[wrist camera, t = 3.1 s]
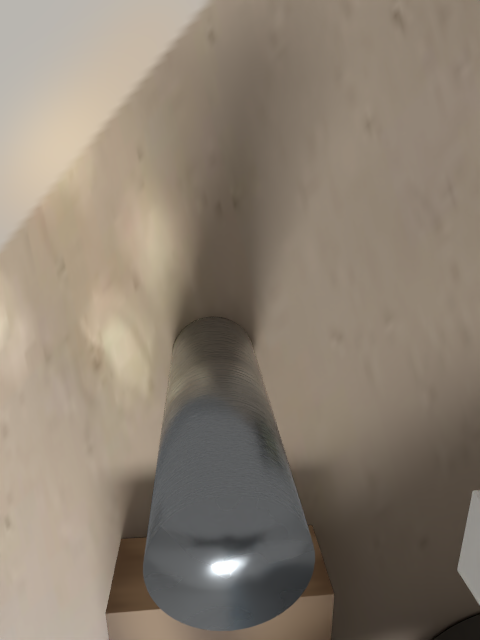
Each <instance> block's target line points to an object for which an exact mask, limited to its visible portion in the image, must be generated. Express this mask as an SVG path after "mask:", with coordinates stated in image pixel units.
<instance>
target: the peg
mask: <svg viewBox="0 0 480 640" xmlns="http://www.w3.org/2000/svg"><path fill="white" fill-rule="evenodd" d="M314 565H315V551H314V545H313V542H312V538H311V535H310V532H309V529H308V525H307V522H306V519H305V515H304V512H303V509H302V506H301V502H300V499H299V496H298V493H297V489H296V486H295V483H294V480H293V476H292V473H291V470H290V467H289V463H288V460H287V457H286V454H285V450H284V447H283V444H282V441H281V437H280V434H279V431H278V428H277V424H276V421H275V418H274V414H273V411H272V408H271V405H270V401H269V398H268V395H267V392H266V388H265V385H264V382H263V379H262V375H261V372H260V369H259V366H258V362H257V359H256V356H255V353H254V349H253V346H252V343H251V340H250V338H249V336H248V335H247V333H246V332H245V331H244V330H243V329H242V328H241V327H240V326H239V325H238V324H236V323H235V322H233V321H231V320H228V319H225V318H220V317H206V318H202V319H199V320H196V321H194V322H192V323H191V324H189V325H188V326H186V327H185V328H184V329H183V330H182V331H181V332H180V334H179V335H178V337H177V339H176V341H175V343H174V346H173V352H172V360H171V367H170V374H169V381H168V388H167V396H166V403H165V410H164V417H163V424H162V432H161V439H160V446H159V453H158V461H157V468H156V475H155V482H154V489H153V497H152V504H151V511H150V518H149V526H148V533H147V540H146V547H145V554H144V562H143V577H144V582H145V585H146V588H147V591H148V593H149V594H150V596H151V598H152V600H153V601H154V602H155V603H156V605H157V606H158V607H159V608H160V609H161V610H162V611H163V612H165V613H166V614H167V615H169V616H170V617H172V618H173V619H175V620H177V621H179V622H181V623H183V624H186V625H188V626H191V627H195V628H199V629H204V630H210V631H233V630H240V629H245V628H249V627H253V626H256V625H259V624H262V623H264V622H267V621H269V620H271V619H273V618H275V617H276V616H278V615H280V614H281V613H283V612H284V611H285V610H287V609H288V608H289V607H290V606H292V605H293V604H294V603H295V602H296V601H297V600H298V598H299V597H300V596H301V595H302V594H303V592H304V591H305V589H306V588H307V586H308V584H309V582H310V580H311V577H312V574H313V571H314Z"/></svg>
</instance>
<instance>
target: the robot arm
mask: <svg viewBox="0 0 480 640" xmlns="http://www.w3.org/2000/svg"><path fill="white" fill-rule="evenodd" d="M457 571H458V572H459V574H460V575H461V577H462V579H463V580H464V582H465V583H466V585H467V586H468V588H469V590H470V591H471V593H472V594H473V596H474V597H475V599H476V600H477V602H478V604H479V605H480V490H474V491H473V492H472V497H471V502H470V507H469V512H468V517H467V522H466V528H465V533H464V538H463V543H462V548H461V553H460V558H459V563H458V568H457ZM434 640H480V614H479V615H477V616H474V617H471V618H469V619H467V620H464V621H462V622H460V623H458V624H456V625H455V626H453V627H451V628H449V629H448V630H446V631H445V632H443V633H442V634H440V635H439V636H438V637H436V638H435V639H434Z"/></svg>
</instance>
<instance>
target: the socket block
mask: <svg viewBox="0 0 480 640" xmlns="http://www.w3.org/2000/svg"><path fill="white" fill-rule="evenodd" d="M308 529H309V532H310V535H311V538H312V542H313V545H314V551H315V565H314V571H313V574H312V577H311V580H310V582H309V584H308V586H307V588H306V589H305V591H304V592H303V594H302V595H301V596H300V597H299V598H298V600H297V601H296V602H295V603H294V604H293V605H292V606H290V607H289V608H288V609H287V610H285V611H284V612H283V613H281V614H280V615H278V616H276V617H275V618H273V619H271V620H269V621H267V622H264V623H262V624H259V625H256V626H253V627H249V628H245V629H240V630H233V631H210V630H204V629H199V628H195V627H191V626H188V625H186V624H183V623H181V622H179V621H177V620H175V619H173V618H172V617H170V616H169V615H167V614H166V613H165V612H163V611H162V610H161V609H160V608H159V607H158V606H157V605H156V603H155V602H154V601H153V600H152V598H151V596H150V594H149V593H148V591H147V588H146V585H145V582H144V577H143V562H144V554H145V547H146V540H147V537H142V538H128V539H121V542H120V547H119V551H118V556H117V561H116V566H115V571H114V576H113V580H112V585H111V590H110V595H109V600H108V605H107V609H106V620H107V628H108V635H109V640H331V631H332V618H333V605H334V592H333V589H332V586H331V582H330V579H329V576H328V573H327V570H326V567H325V564H324V561H323V557H322V554H321V551H320V548H319V545H318V542H317V539H316V536H315V532H314V529H313V526H312V525H308Z"/></svg>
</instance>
